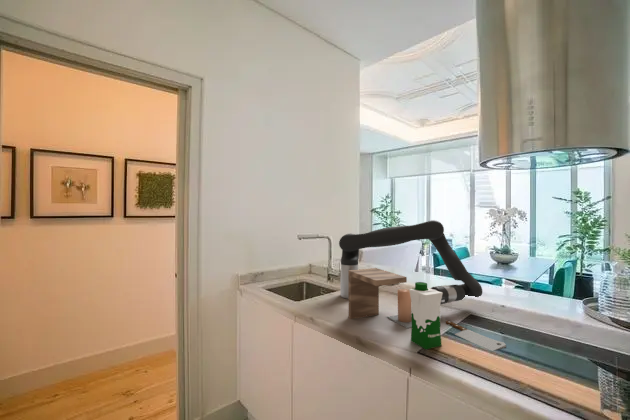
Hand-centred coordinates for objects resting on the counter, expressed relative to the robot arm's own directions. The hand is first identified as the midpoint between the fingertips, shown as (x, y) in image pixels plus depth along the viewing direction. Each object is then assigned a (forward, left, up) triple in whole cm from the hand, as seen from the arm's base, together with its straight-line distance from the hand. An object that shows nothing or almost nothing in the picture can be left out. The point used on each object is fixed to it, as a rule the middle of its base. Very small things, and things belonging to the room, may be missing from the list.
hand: (413, 299), depth 122 cm
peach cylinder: (0, -4, -8) cm, 9 cm away
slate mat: (0, -4, -9) cm, 10 cm away
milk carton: (+19, -11, -9) cm, 24 cm away
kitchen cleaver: (+20, +8, -9) cm, 23 cm away
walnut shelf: (-3, -16, -9) cm, 19 cm away
